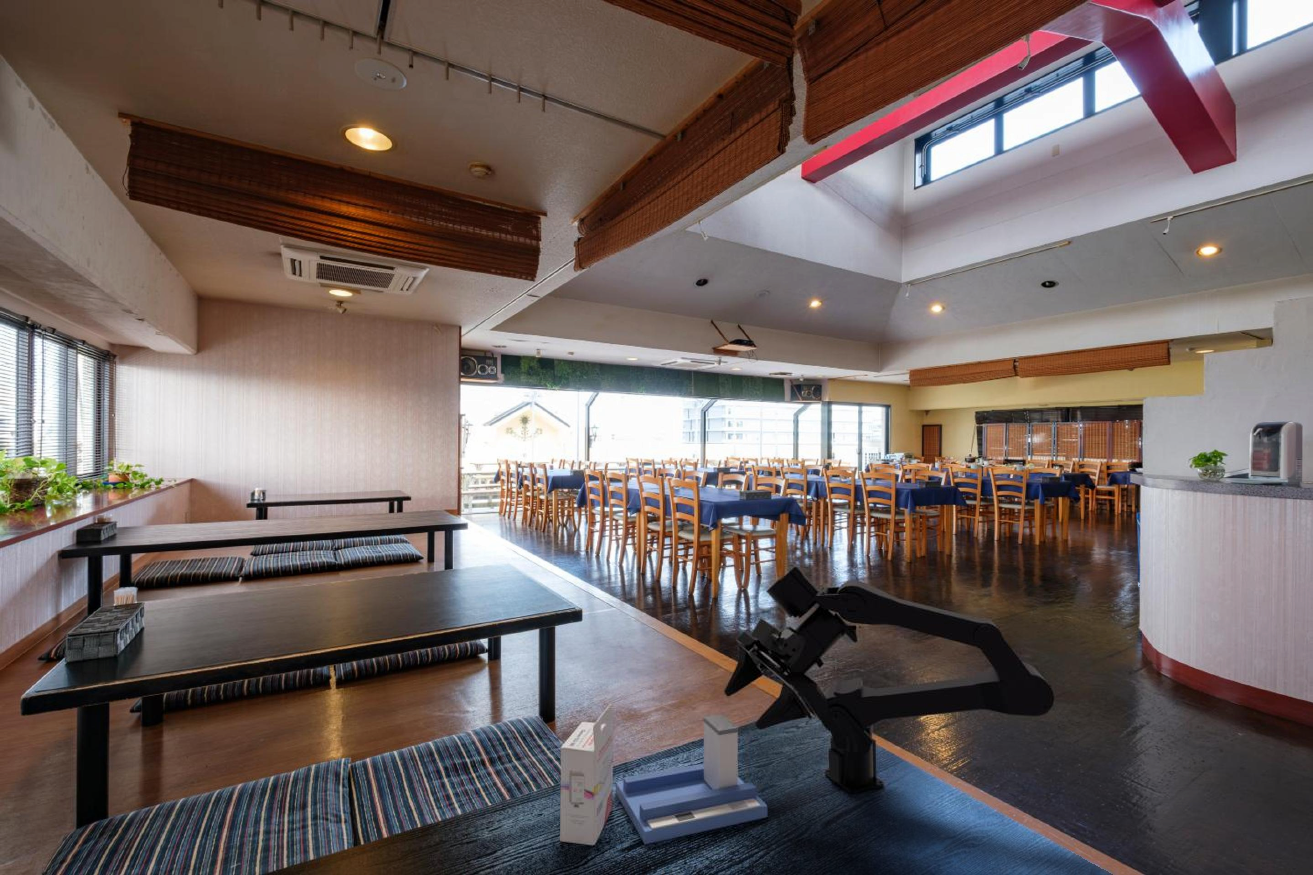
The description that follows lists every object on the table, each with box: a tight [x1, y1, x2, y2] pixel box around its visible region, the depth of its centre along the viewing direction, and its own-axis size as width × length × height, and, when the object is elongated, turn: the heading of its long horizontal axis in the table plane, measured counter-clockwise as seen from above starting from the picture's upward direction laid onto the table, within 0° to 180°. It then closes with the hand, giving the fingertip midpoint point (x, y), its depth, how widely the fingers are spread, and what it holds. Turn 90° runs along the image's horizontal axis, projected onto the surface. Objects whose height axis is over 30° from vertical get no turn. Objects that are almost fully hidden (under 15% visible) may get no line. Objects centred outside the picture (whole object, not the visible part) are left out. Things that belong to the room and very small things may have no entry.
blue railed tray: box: [615, 762, 768, 845], centre depth 82 cm, size 18×13×3 cm
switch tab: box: [702, 714, 740, 790], centre depth 84 cm, size 3×5×9 cm, turn 21°
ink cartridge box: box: [559, 703, 614, 846], centre depth 77 cm, size 9×5×15 cm, turn 168°
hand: (740, 709), depth 88 cm, fingers open, 9 cm apart
